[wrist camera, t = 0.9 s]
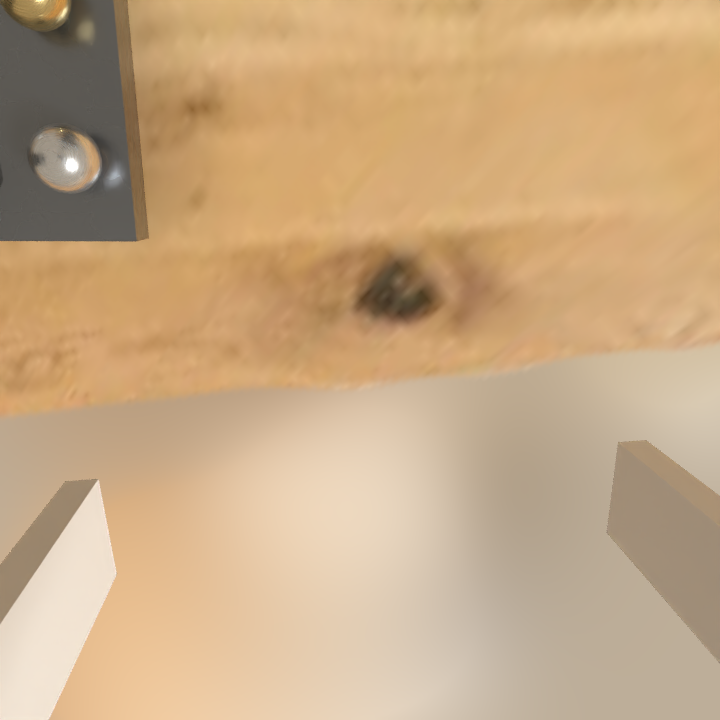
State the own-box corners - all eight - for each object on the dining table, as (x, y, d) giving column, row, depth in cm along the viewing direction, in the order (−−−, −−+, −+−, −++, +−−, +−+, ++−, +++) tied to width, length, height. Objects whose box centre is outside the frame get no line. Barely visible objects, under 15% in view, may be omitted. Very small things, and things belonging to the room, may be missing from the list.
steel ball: (40, 126, 28) (8, 117, 25) (107, 127, 28) (84, 119, 25) (49, 193, 29) (20, 193, 26) (114, 194, 29) (92, 193, 26)
